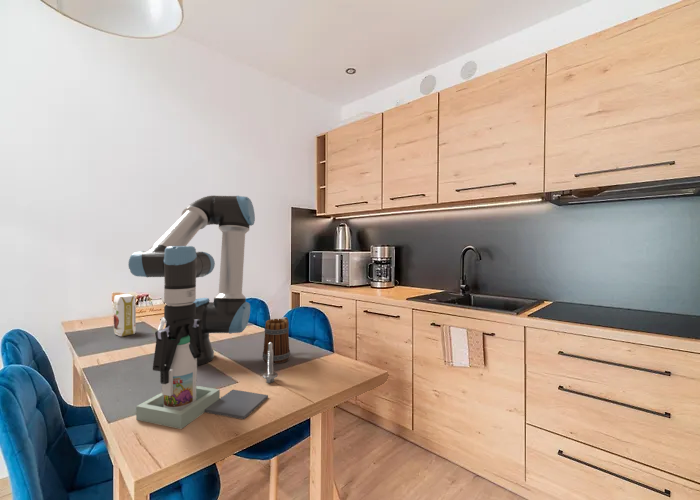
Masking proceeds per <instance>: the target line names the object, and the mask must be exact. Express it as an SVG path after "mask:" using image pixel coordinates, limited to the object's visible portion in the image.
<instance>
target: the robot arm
mask: <svg viewBox="0 0 700 500" xmlns="http://www.w3.org/2000/svg"><path fill="white" fill-rule="evenodd" d="M255 217H256V216H255V209H254V204H253V202H252V200H251V199H250V198H249V197H248V196H241V195H207V196H203V197H201V198H199V199H197V200H195V201H193V202H191V203H190V204H188V205H187V206H186V207H185V208H184V209H183V210H182V212H181V217H179V218H178V219H177V220H176V221H175V223H173V224H172V225H171V226H170V228H169V229H167V231H165V233H164V234H163V235H161V237H159V238H158V239H157V240H156V241H155V243H154V244H153V245H152V246H151V247H149V249H148V250H146V251H144V250H141V251H136V252H135V251H134V252H133V253H132V254H131V255H130V257H129V260H128V269H129V271H130V273H131V274H132V275H133V276H135V277H141V278H142V277H143V278H164V279H163V280H164V287H163V288H164V289H163V290H164V292H163V296H164V297H163V298H164V299H163V301H164V304H165V305H164V306H163V314H164V315H163V317H164V318H165V319H166V320H165V322H166V321H167V324H166V323H165V328H163V329H162V330H161V331H159V330H158V329H156V330H155V333H154V334H155V347H154V357H153V361H152V362H153V363H152V364H153V365H152V371H156V372H159V373H160V376H159V377H160V380H159V382H160V384H161V393H162V395H168V396H172V395H173V370H172V369H170V368H171V364H172V361H173V358H174V354H175V351H176V348H177V344H178V343H180V339H181V338H182V337H185V336H188V335H189V336H190V344H189V349H190V352H191V354H192V356H193V358H194V360H195V364H196V382H198V368H199V366H200V365H204V364H206V363H210V362H211V361H212V360H213V359H214V358H215V357H214V356H215V352H214V349H213V346H212V343H211V340H210V334H240V333H243V332H244V330H246V327H247V325H248V323H249V319H250V316H251V315H250V314H251V303H249V302H247V301H246V300H247V299H246V298H247V297H246V296H245V295H244V294H243V280H244V265H245V264H244V262H245V244H246V243H245V242H246V234H247V233H248V232H249V231H250V227H251V226H254V224H255V220H256V218H255ZM210 225H218V229H219V230H220V232H222V233H221V234H222V235H221V250H220V265H219V279H218V281H219V283H218V292H217V294H216V295H215V296H214V297H213V301H212V302H211V301H210V298H209V297H199V298H196V297H197V295H196V293H197V292H196V287H197V278H203V277H206V276H207V275H209V274H211V273H212V272H213V271H214V269H215V265H216V263H215V262H216V261H215V259H214V257H213V256H212V254H210V253H208V252H205V251H197V249H196V248H195V246H192V245H188V244H189V243H190V241H192V239H194V237H195V236H196V234H197V233H198V232H199V231H200V230H202V229H204V228H206V227H207V226H210ZM171 338H172V339H175V340H171ZM165 365H166V366H165Z"/></svg>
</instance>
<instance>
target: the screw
mask: <svg viewBox="0 0 700 500" xmlns="http://www.w3.org/2000/svg"><path fill="white" fill-rule="evenodd" d="M267 361H268V363H267V371H266V372H264V373H263V374H262V378H263V379H265V381H266V383H267V384H271V383H272V384H273V383H274V382H275V378H277V377H279V376H278V375H279V374H278V372H276V371H274V364H273V349H272V343H271V342H270V343H269V344H268V360H267Z"/></svg>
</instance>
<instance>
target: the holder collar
mask: <svg viewBox="0 0 700 500" xmlns="http://www.w3.org/2000/svg"><path fill="white" fill-rule="evenodd" d="M220 391H221V390H220V389H219V388H213V387H205V386H202V385H201V386H200V385H196V401H195V402H194V403H192V404H191V405H189V406H188V407H186V408H185V409H183V410H182V411H180V410H174V409H169V408H164V395H162V392H160V393H158V394H157V395H154V396H153V397H151V398H149V399H147V400H146V401H143V402H142V403H140V404H138V405H136V406H135V408H136V409H135V410H136V411H135V412H136V417H135V419H136V420H137V421H141V422H145V423H151V424H155V425H159V426H166V427H169V428H175V429H180V430H182V429H183V428H185V427H186V426H187V425H189V424H190V423H192V422H193V421H195V420H196V419H197V418H199V417H200V416H202V415H203V414H205V413H206V412H205V409H206V408H207V407H209V406H210V405H211V404H213V403H214V402H216V401H217V400H219V399H220V398H221V396H220Z"/></svg>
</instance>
